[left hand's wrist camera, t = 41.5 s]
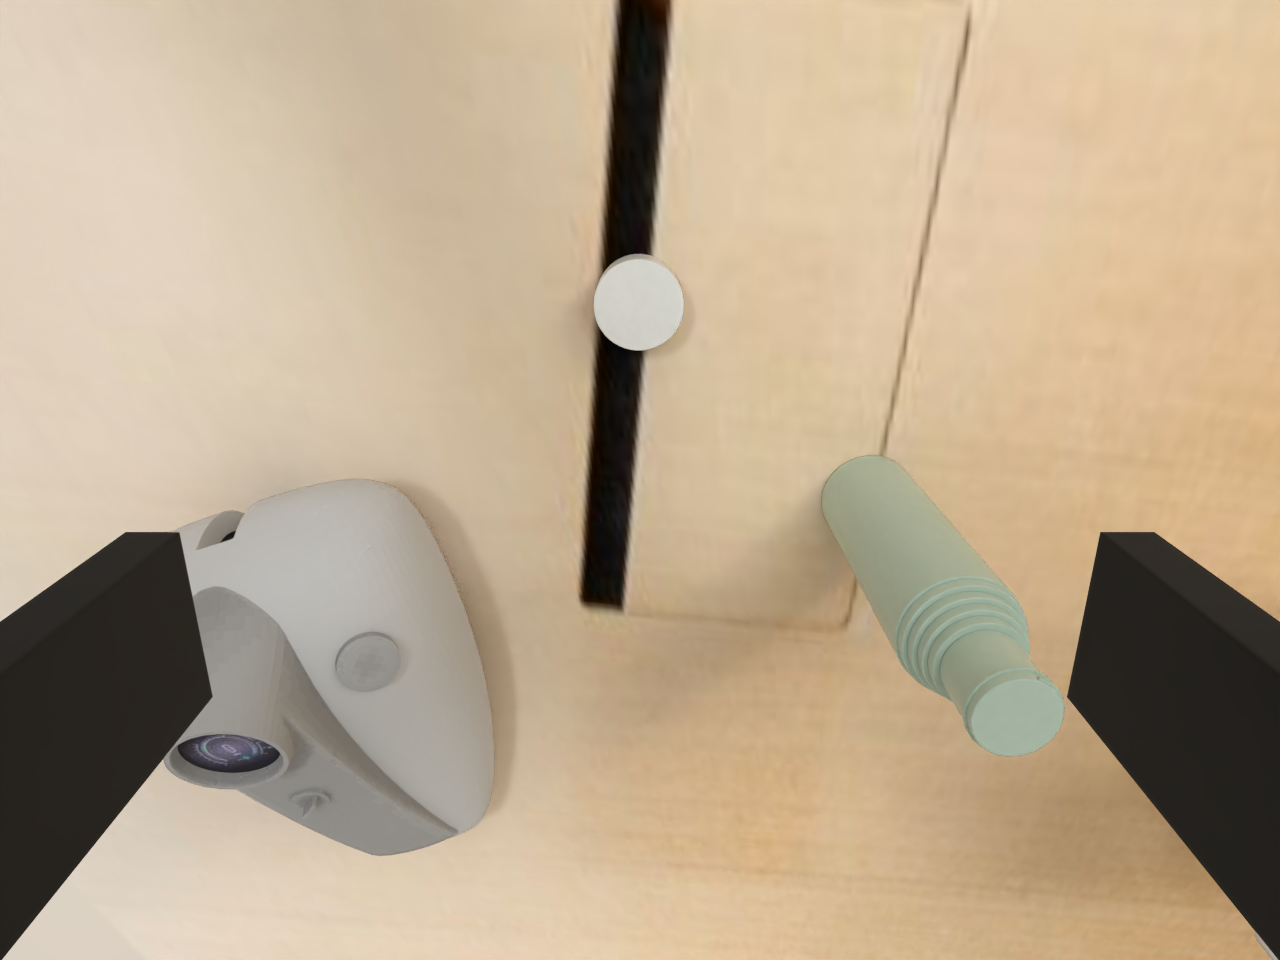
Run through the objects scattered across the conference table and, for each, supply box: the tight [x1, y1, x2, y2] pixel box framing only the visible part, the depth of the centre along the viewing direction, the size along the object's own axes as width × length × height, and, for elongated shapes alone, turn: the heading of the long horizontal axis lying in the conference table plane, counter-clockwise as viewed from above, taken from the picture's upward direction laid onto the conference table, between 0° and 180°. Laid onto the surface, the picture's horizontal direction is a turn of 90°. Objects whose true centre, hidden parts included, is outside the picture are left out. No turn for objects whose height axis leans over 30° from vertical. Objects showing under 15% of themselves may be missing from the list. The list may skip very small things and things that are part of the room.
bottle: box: [821, 455, 1065, 756], centre depth 37 cm, size 5×5×20 cm
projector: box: [163, 479, 495, 856], centre depth 42 cm, size 22×23×15 cm
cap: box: [594, 254, 684, 350], centre depth 41 cm, size 4×4×3 cm
